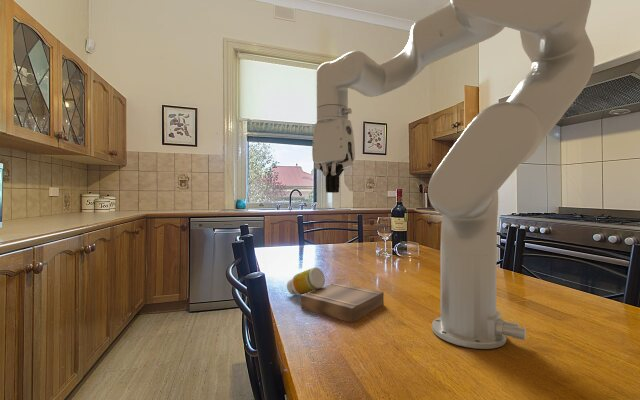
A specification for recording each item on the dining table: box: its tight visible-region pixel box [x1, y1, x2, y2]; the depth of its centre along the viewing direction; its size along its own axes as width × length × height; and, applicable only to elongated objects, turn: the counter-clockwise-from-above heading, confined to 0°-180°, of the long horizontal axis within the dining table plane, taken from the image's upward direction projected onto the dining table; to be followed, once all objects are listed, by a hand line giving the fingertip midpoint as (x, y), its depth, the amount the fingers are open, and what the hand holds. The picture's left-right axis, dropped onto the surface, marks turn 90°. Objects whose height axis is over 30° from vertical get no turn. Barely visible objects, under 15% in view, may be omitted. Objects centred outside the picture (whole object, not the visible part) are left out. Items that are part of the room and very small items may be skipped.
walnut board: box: [300, 282, 385, 323], centre depth 74 cm, size 14×14×3 cm
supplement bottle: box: [286, 266, 326, 296], centre depth 81 cm, size 5×5×10 cm
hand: (332, 192), depth 76 cm, fingers closed
